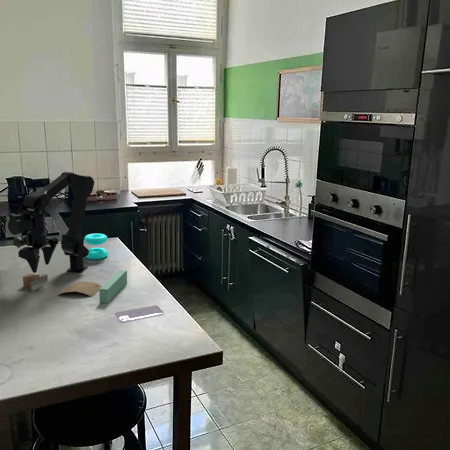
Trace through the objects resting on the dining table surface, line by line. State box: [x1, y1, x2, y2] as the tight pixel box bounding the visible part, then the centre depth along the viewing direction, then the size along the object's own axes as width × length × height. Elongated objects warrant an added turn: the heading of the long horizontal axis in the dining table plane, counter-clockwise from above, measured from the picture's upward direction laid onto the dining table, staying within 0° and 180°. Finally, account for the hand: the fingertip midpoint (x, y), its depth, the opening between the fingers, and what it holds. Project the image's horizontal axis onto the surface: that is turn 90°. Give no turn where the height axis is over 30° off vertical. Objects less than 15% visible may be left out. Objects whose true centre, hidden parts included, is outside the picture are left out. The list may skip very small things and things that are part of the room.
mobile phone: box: [114, 304, 165, 323], centre depth 149 cm, size 8×1×15 cm
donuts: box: [83, 232, 109, 260], centre depth 205 cm, size 10×10×10 cm
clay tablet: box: [59, 280, 103, 298], centre depth 166 cm, size 14×10×3 cm
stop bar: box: [98, 269, 128, 304], centre depth 166 cm, size 20×3×5 cm, turn 173°
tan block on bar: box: [22, 273, 49, 292], centre depth 171 cm, size 6×10×4 cm, turn 173°
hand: (41, 268), depth 172 cm, fingers open, 9 cm apart
